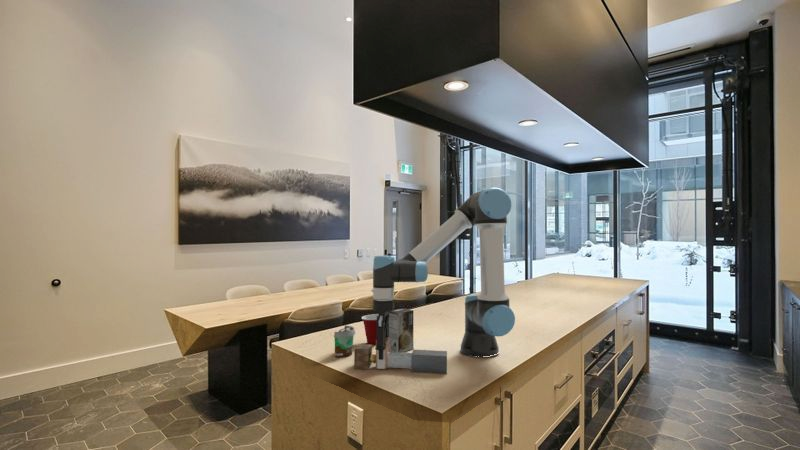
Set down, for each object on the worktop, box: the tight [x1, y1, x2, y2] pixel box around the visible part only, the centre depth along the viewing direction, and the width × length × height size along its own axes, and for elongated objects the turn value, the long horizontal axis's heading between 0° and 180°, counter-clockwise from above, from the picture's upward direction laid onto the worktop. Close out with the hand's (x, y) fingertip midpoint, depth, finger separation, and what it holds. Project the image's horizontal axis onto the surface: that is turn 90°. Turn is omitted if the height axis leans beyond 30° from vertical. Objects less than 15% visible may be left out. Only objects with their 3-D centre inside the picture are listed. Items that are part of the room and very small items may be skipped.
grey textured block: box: [353, 343, 373, 371], centre depth 135 cm, size 5×6×7 cm
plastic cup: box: [361, 313, 379, 346], centre depth 166 cm, size 11×11×12 cm
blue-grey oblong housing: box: [410, 349, 448, 375], centre depth 132 cm, size 12×6×6 cm, turn 83°
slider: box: [369, 337, 412, 369], centre depth 133 cm, size 22×5×9 cm, turn 83°
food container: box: [333, 325, 356, 359], centre depth 149 cm, size 12×6×10 cm, turn 168°
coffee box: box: [388, 308, 414, 353], centre depth 157 cm, size 9×6×16 cm
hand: (382, 365), depth 134 cm, fingers closed on slider, 5 cm apart
